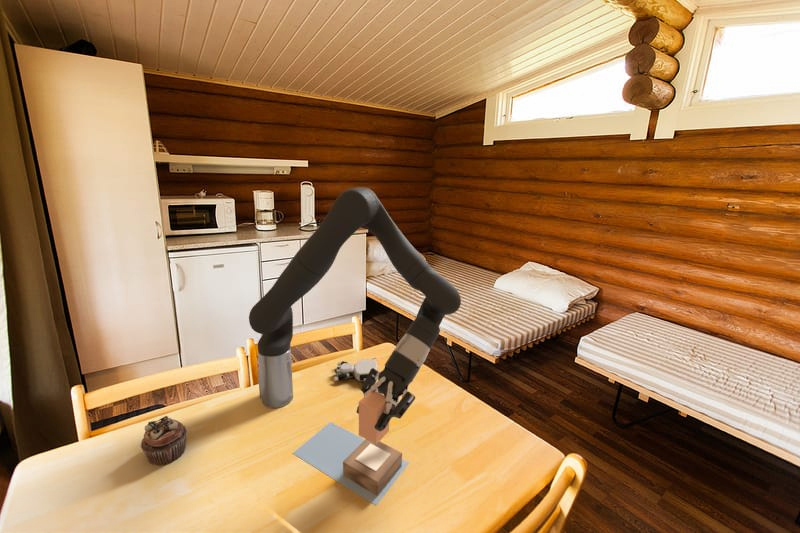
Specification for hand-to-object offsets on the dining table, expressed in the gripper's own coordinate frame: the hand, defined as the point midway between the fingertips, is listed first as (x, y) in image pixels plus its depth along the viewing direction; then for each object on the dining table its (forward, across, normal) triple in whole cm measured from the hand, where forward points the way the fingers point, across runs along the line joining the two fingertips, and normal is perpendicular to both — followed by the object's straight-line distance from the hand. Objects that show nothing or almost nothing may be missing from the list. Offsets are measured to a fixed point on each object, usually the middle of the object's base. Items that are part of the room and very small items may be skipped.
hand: (368, 421), depth 82 cm
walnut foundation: (+9, 0, +12) cm, 15 cm away
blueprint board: (+11, -7, +11) cm, 17 cm away
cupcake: (+35, -38, -13) cm, 53 cm away
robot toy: (-5, -36, +28) cm, 45 cm away
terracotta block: (+2, 0, +4) cm, 4 cm away
